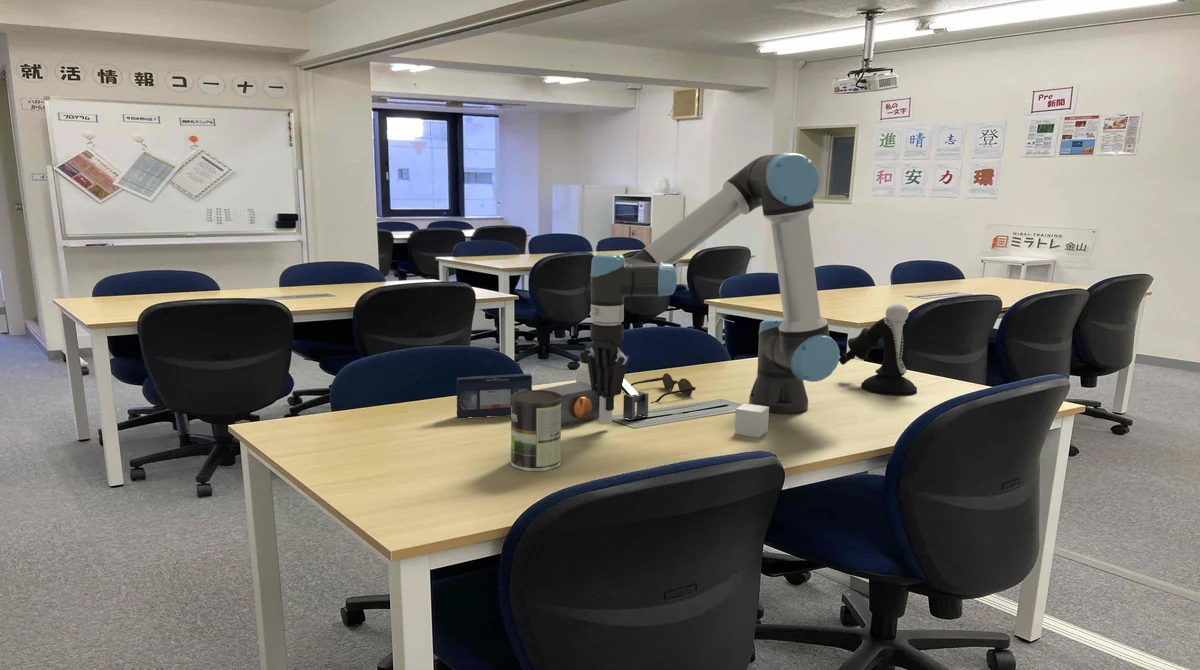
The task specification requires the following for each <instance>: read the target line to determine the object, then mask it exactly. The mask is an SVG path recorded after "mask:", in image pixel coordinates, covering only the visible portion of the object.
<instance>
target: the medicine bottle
mask: <svg viewBox="0 0 1200 670" xmlns="http://www.w3.org/2000/svg"><path fill="white" fill-rule="evenodd" d="M585 350H586V349H583V350H581V351H580V365H579V367H578V368H577V369H576V370H575V372H576V373H575V382H583V383H587V384H591V382H590V375H589V369H588V362H587V358H586V356H585V353H584V351H585Z"/></svg>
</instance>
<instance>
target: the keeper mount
mask: <svg viewBox="0 0 1200 670" xmlns="http://www.w3.org/2000/svg"><path fill="white" fill-rule="evenodd" d="M636 392H637V393H642V394H643V397H644V399H643V401H640V402H635V396H632V395H628V394H625V393H624V394H623V411H622V412H623V413H622V414H623V415H622V418H623V417H624V418H628V419H631V420H633V419H635V420H636V416H637V415H641V416H645V417H646V416H648V417H649V393H648V392H643V391H636ZM636 414H637V415H636Z"/></svg>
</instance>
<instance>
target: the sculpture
mask: <svg viewBox="0 0 1200 670" xmlns="http://www.w3.org/2000/svg"><path fill="white" fill-rule="evenodd" d="M909 315H910V314H909V310H908V307H906V305H904V304H902V303H892V304H890V305H889V306H888V307H887V308H886V310H885V316H884V317H883V318H880V319H879V320H877V321H876V322H875V323H874V324H872V325H871V326H870V327H869V328H867V327H864V328H862V330H861V332H860V333H859V334H858V335H857V336H855V337H851V338H849V339H848V340H847V346H848V348H849V350H848V351H847V352H846V353H844V354H841V355H840V358H839V362H838V363H840V364H841V365H842V366H843V365H845V364H847V363H848V362H849V361H851V360H854V359H855V358H858V359H859V360H862V361H864V360H867V359H868V355H869V354H870V352H871V351H872V350H874V349H876V348H878V347H880V344H881V342H880V340H882V341H883V344H884V350H883V357H882V363H881V366H880V367H879V368H877V369H876V370H875V373H876V374H874V375H871V376H869V377H867V378H866V379H864V380H863V381H862V382H861V384H860V385H861V386H860V388H861V389H862V390H863V391H865V392H868V393H873V394H876V395H877V394H878V395H883V396H884V395H885V396H893V397H894V396H896V397H898V396H912V395H914V394H917V392H918V390H917V389H918V387H917V386H916V385H915V383H913V382H912V381H911V380H910V379H908V378H906V377H904V375H905V374H906V373H907V371H908V370H907V369H906V366H905V364H904V362H903V359H902V357H903V354H904V353H903V351H904V334H903V332H904V331H903V328H904V327H903V326H904V325H905V324H906V320H907V319H908V318H909Z"/></svg>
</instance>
